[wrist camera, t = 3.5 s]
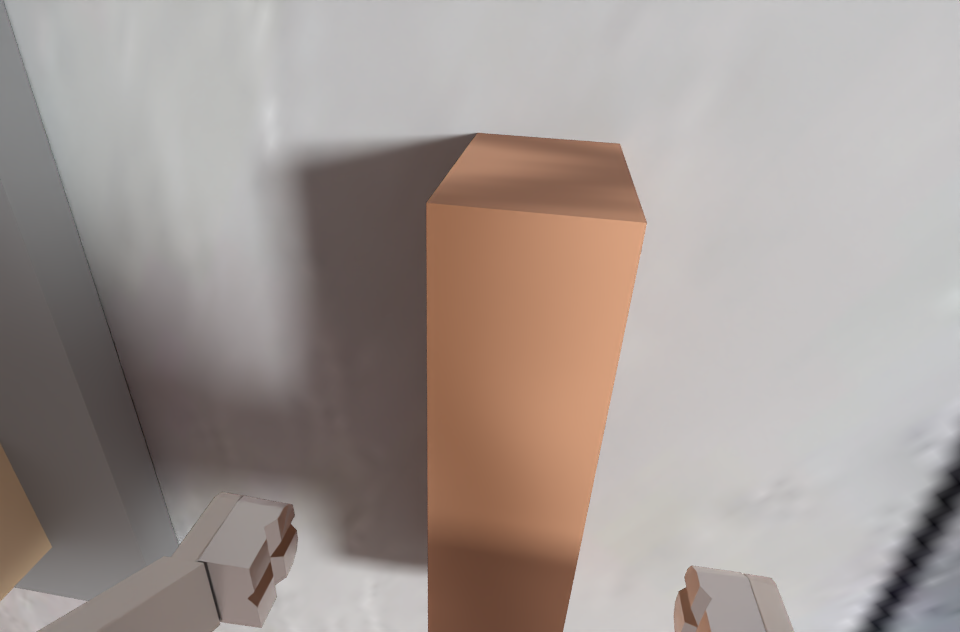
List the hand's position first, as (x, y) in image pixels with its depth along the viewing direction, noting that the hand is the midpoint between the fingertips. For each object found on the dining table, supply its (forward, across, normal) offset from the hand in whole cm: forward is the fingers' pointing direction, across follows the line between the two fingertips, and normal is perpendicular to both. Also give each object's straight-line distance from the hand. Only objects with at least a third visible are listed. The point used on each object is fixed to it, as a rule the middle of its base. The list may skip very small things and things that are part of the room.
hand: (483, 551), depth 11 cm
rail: (+5, 0, 0) cm, 5 cm away
